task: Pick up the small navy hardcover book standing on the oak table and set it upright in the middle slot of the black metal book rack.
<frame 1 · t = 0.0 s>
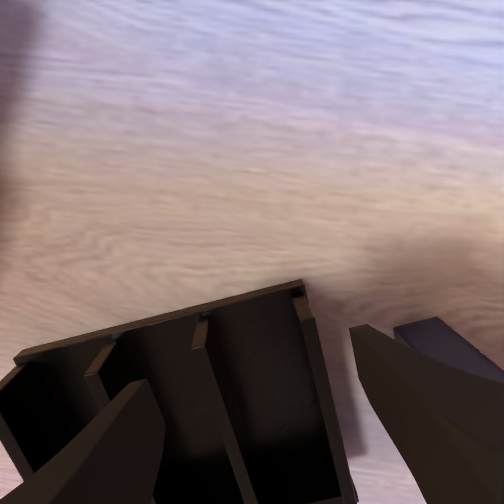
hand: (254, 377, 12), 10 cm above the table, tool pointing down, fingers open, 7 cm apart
book: (423, 384, 24), on the table
rack: (192, 403, 24), on the table
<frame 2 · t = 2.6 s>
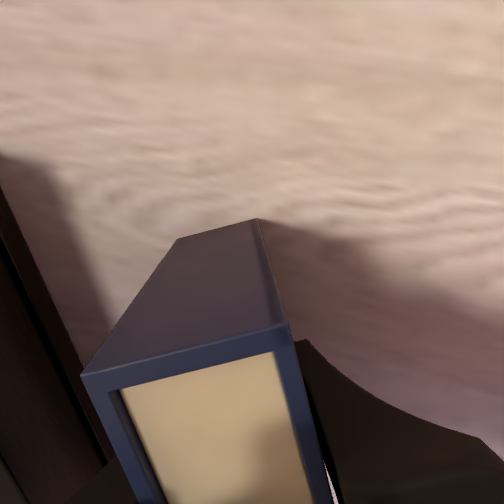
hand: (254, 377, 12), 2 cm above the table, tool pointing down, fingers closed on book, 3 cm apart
book: (251, 346, 14), on the table, touching gripper
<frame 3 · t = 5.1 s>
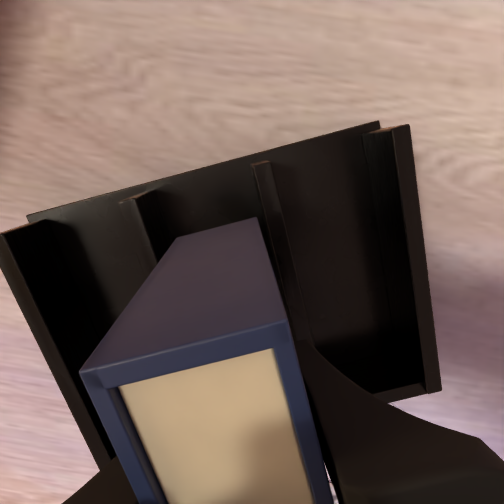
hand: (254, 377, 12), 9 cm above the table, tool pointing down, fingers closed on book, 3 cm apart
book: (251, 345, 14), point 7 cm above the table, touching gripper
rack: (236, 286, 20), on the table
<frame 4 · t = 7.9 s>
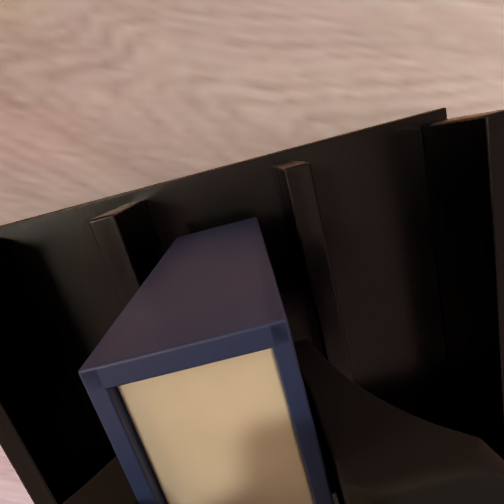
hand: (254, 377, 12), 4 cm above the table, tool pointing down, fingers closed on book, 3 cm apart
book: (251, 345, 14), point 2 cm above the table, touching gripper
rack: (250, 320, 16), on the table
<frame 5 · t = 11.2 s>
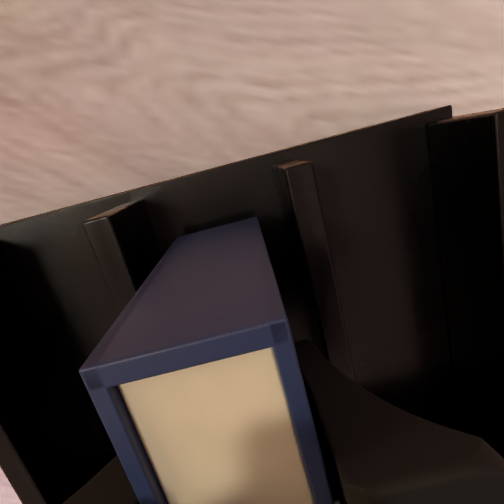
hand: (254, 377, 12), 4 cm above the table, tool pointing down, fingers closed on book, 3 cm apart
book: (251, 345, 14), point 2 cm above the table, touching gripper
rack: (249, 323, 16), on the table
when the fingers open (5 cm above the table, at t = 13.1 s): book drops 2 cm, resting on rack.
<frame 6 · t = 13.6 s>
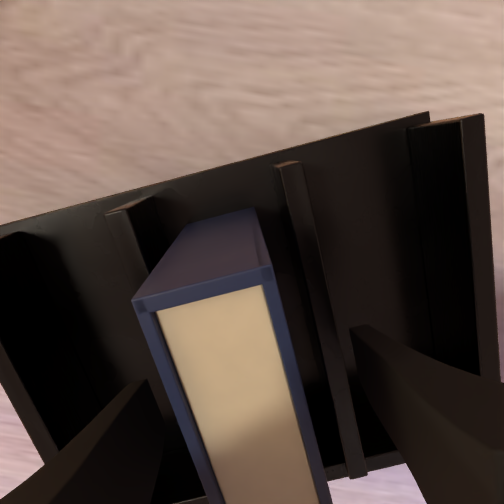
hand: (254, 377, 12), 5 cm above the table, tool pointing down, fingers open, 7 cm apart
book: (249, 318, 16), point 1 cm above the table, touching rack
rack: (249, 309, 17), on the table
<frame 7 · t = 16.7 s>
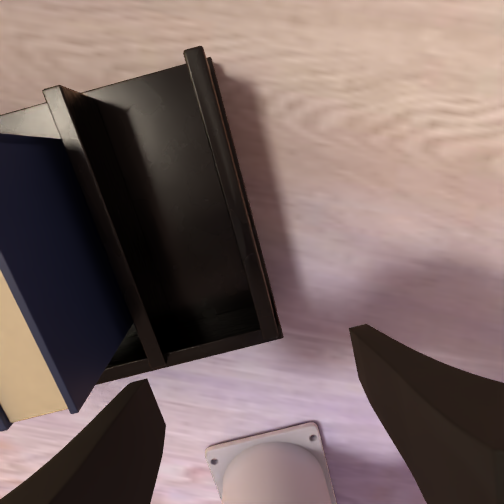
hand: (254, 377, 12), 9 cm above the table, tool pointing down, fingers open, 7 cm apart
book: (82, 240, 19), point 1 cm above the table, touching rack
rack: (90, 236, 20), on the table
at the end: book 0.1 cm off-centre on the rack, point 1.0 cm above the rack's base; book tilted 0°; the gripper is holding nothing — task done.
